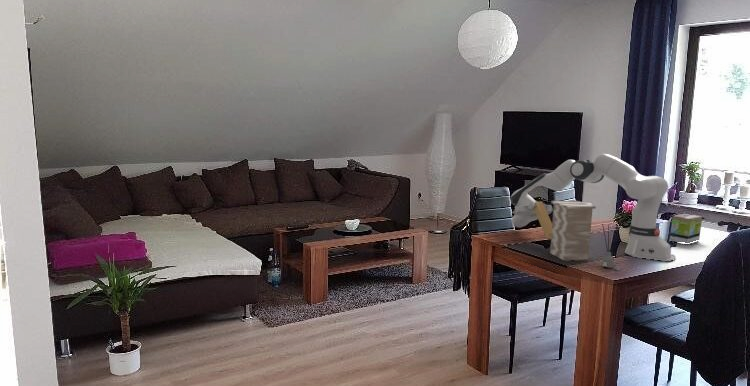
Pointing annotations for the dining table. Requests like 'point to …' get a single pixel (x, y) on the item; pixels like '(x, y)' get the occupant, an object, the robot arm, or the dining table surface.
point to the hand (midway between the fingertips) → (539, 205)
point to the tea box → (685, 228)
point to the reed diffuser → (609, 253)
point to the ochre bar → (543, 219)
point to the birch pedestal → (571, 230)
